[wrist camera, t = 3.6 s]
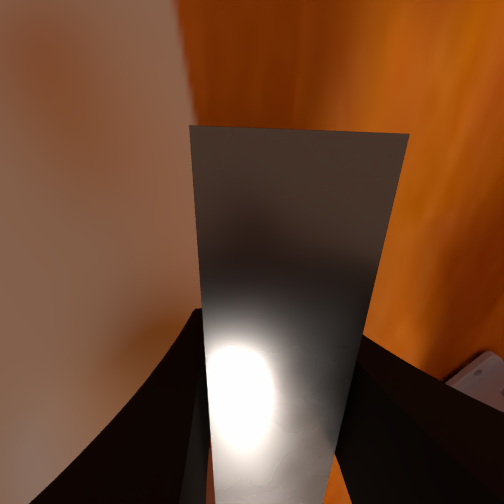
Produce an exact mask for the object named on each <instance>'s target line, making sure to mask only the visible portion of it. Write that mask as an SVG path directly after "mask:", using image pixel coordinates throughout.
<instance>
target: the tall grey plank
mask: <svg viewBox="0 0 504 504" xmlns="http://www.w3.org/2000/svg"><path fill="white" fill-rule="evenodd" d="M189 129H190V143H191V156H192V157H191V158H192V172H193V186H194V200H195V215H196V229H197V244H198V258H199V272H200V287H201V301H202V316H203V330H204V345H205V359H206V373H207V388H208V402H209V417H210V431H211V445H212V460H213V474H214V488H215V503H216V504H323V500H324V496H325V491H326V487H327V483H328V479H329V474H330V470H331V466H332V462H333V457H334V453H335V449H336V445H337V440H338V436H339V432H340V428H341V423H342V419H343V415H344V411H345V406H346V402H347V398H348V394H349V389H350V385H351V381H352V377H353V372H354V368H355V364H356V360H357V355H358V351H359V347H360V343H361V338H362V334H363V330H364V326H365V321H366V317H367V313H368V309H369V304H370V300H371V296H372V292H373V287H374V283H375V279H376V275H377V270H378V266H379V262H380V258H381V253H382V249H383V245H384V241H385V236H386V232H387V228H388V224H389V219H390V215H391V211H392V207H393V202H394V198H395V194H396V190H397V185H398V181H399V177H400V173H401V168H402V164H403V160H404V156H405V151H406V147H407V143H408V139H409V134H399V133H373V132H348V131H322V130H296V129H270V128H244V127H219V126H193V125H189Z"/></svg>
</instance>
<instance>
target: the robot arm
mask: <svg viewBox="0 0 504 504" xmlns="http://www.w3.org/2000/svg"><path fill="white" fill-rule="evenodd" d="M210 437H211V431H210V417H209V402H208V388H207V373H206V359H205V345H204V330H203V316H202V308H200V309H195V310H194V311H193V312H192V314H191V316H190V318H189V319H188V321H187V323H186V324H185V326H184V328H183V330H182V331H181V333H180V334H179V336H178V337H177V339H176V340H175V342H174V343H173V345H172V346H171V348H170V349H169V351H168V352H167V353H166V355H165V356H164V358H163V359H162V360H161V362H160V363H159V364H158V365H157V367H156V368H155V369H154V371H153V372H152V373H151V375H150V376H149V377H148V379H147V380H146V381H145V383H144V384H143V385H142V386H141V387H140V388H139V390H138V391H137V392H136V393H135V395H134V396H133V397H132V398H131V399H130V400H129V402H128V403H127V404H126V405H125V406H124V407H123V408H122V410H121V411H120V412H119V413H118V414H117V415H116V416H115V417H114V419H113V420H112V421H111V422H110V423H109V424H108V425H107V426H106V427H105V428H104V429H103V430H102V431H101V433H100V434H99V435H98V436H97V437H96V438H95V439H94V440H93V441H92V442H91V443H90V444H89V445H88V446H87V448H85V449H84V450H83V451H82V453H81V454H80V455H79V456H78V457H77V458H76V459H75V460H74V461H73V462H72V463H71V464H70V465H69V466H68V467H67V468H66V469H65V470H64V471H63V472H62V473H61V474H60V475H59V476H58V477H57V478H56V479H55V480H54V481H53V482H51V483H50V484H49V485H48V486H47V487H46V488H45V489H44V490H43V491H42V492H41V493H40V494H39V495H38V496H37V497H36V498H35V499H34V500H32V501H31V502H30V503H29V504H206V485H207V469H208V457H209V447H210ZM335 455H336V458H337V461H338V463H339V466H340V469H341V472H342V475H343V478H344V481H345V484H346V487H347V490H348V493H349V496H350V499H351V502H352V504H504V361H503V360H502V359H501V358H500V357H499V356H498V355H496V354H495V353H493V352H492V351H487V352H484V353H482V354H481V355H480V356H478V357H477V358H476V359H475V360H473V361H472V362H471V363H470V364H468V365H467V366H466V367H465V368H463V369H462V370H461V371H459V372H458V373H457V374H456V375H454V376H453V377H452V378H451V379H449V380H448V381H447V382H445V383H443V382H441V381H440V380H438V379H436V378H434V377H432V376H430V375H429V374H427V373H425V372H423V371H421V370H419V369H418V368H416V367H414V366H412V365H411V364H409V363H407V362H405V361H404V360H402V359H401V358H399V357H397V356H396V355H394V354H392V353H391V352H389V351H388V350H386V349H384V348H383V347H381V346H380V345H378V344H376V343H375V342H373V341H372V340H370V339H369V338H367V337H366V336H364V335H363V334H362V338H361V343H360V347H359V351H358V355H357V360H356V364H355V368H354V372H353V377H352V381H351V385H350V389H349V394H348V398H347V402H346V406H345V411H344V415H343V419H342V423H341V428H340V432H339V436H338V440H337V445H336V449H335Z"/></svg>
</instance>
